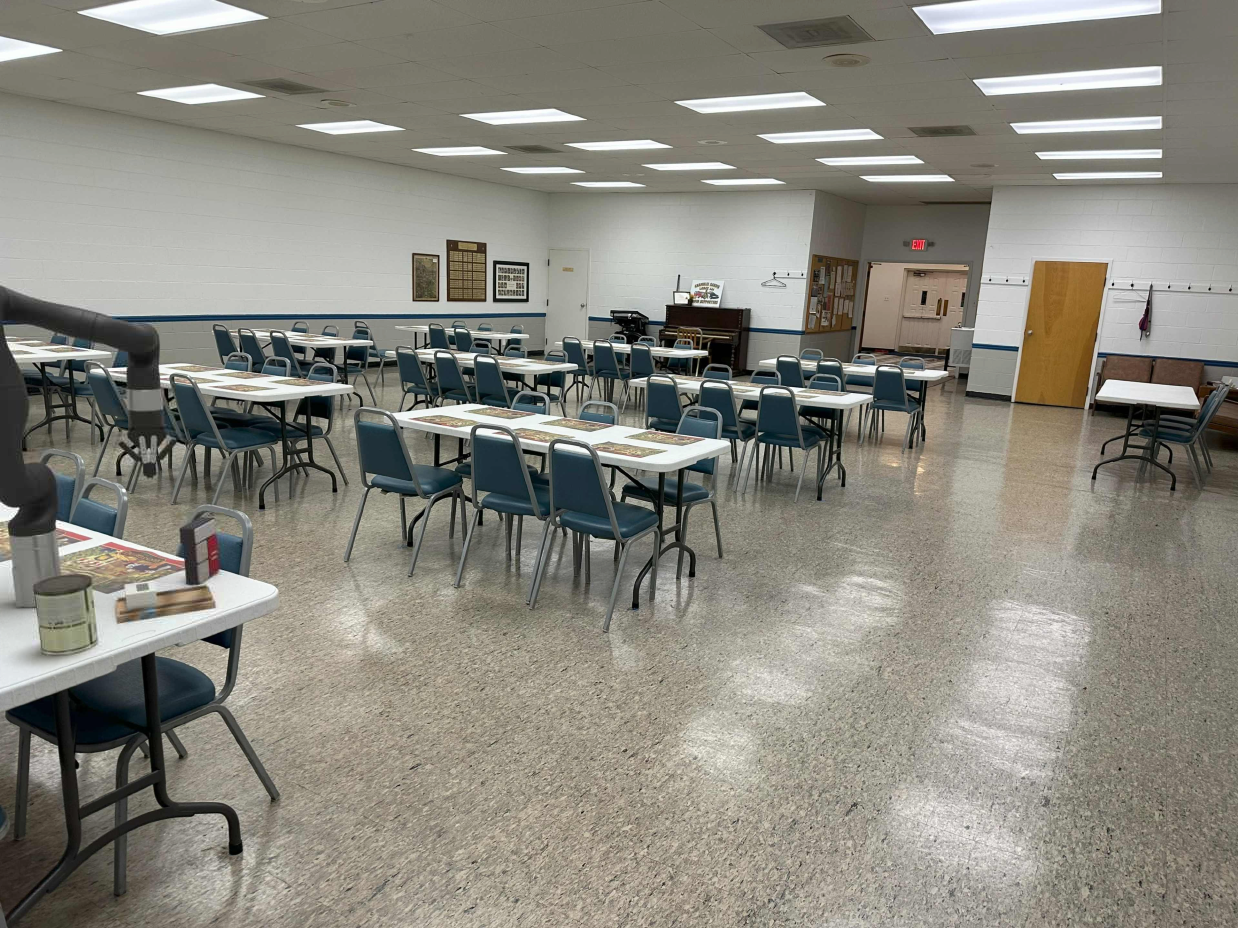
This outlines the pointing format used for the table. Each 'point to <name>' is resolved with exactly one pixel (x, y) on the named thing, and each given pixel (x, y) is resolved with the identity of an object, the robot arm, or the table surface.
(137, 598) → the block
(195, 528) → the black red grey box
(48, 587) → the coffee can
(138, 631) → the table surface
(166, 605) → the board
